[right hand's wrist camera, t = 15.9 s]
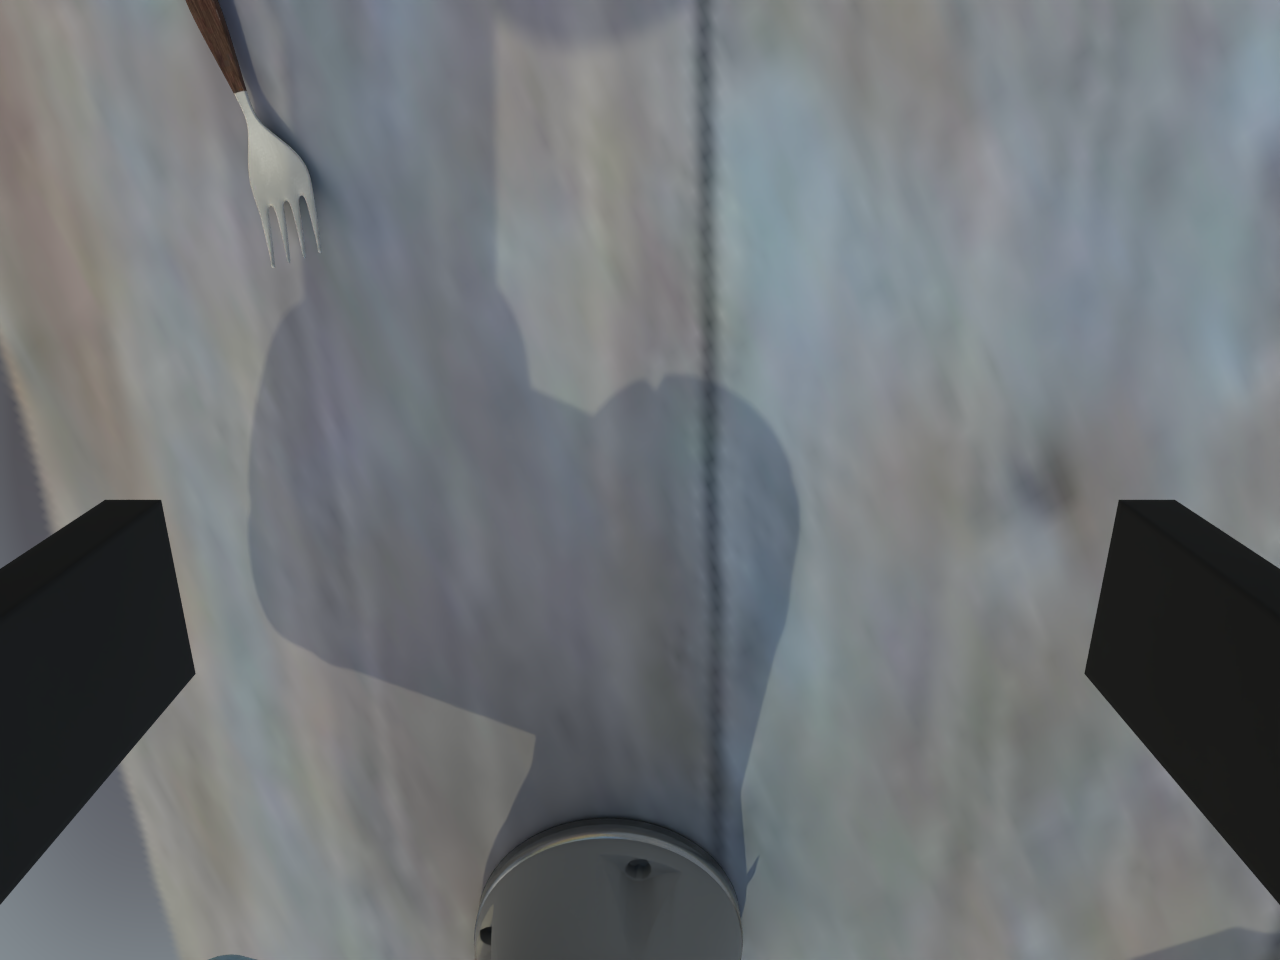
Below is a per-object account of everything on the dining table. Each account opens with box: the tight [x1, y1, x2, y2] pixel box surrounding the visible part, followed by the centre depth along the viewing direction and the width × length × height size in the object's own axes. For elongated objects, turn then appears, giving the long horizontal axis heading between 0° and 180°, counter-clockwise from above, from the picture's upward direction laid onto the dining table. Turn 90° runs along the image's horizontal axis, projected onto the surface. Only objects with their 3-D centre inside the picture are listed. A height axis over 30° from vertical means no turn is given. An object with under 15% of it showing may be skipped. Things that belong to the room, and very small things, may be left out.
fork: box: [186, 0, 322, 268], centre depth 36 cm, size 3×16×2 cm, turn 17°
